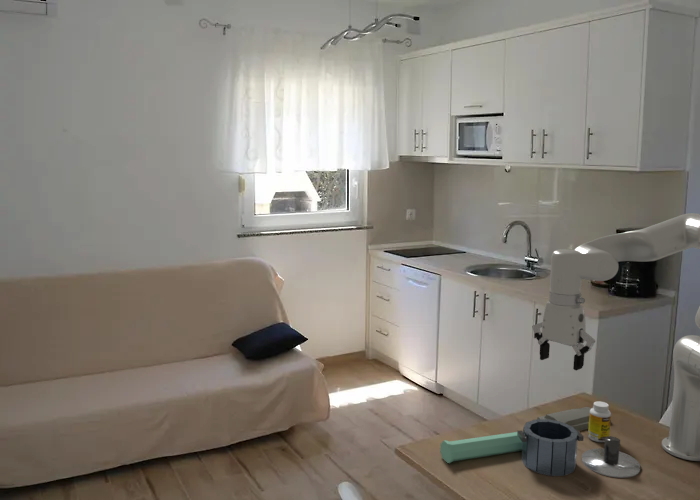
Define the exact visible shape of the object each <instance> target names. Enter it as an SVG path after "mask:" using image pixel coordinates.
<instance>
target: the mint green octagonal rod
mask: <svg viewBox="0 0 700 500" xmlns="http://www.w3.org/2000/svg"><path fill="white" fill-rule="evenodd" d="M522 444H523V442H522V441H521V440H520V438H519V437H518V435H517V431H515V432H507V433H500V434H499V433H498V434H492V435H485V436H479V437H471V438H465V439H459V440H458V439H456V440H451V441H450V440H449V441H448V440H447V439H444V440H443V441H442V442H440V448H439V449H440V455H441V458H443V459H444V460H445V461H446V462H447V463H449V464H451V463H452V462H459V461H464V460H470V459H477V458H483V457H490V456H497V455H501V454H502V455H503V454H509V453H514V452H515V453H516V452H522ZM443 459H442V460H443ZM444 460H443V461H444ZM445 461H444V462H445ZM446 462H445V463H446ZM447 463H446V464H447Z"/></svg>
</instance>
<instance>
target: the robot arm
mask: <svg viewBox="0 0 700 500" xmlns="http://www.w3.org/2000/svg"><path fill="white" fill-rule="evenodd" d="M693 248H694V249H696V250H700V213H696V212H695V213H694V212H691V213H683V214H681V215H678V216H675V217H672V218H669V219H667V220H664V221H661V222H659V223H656V224H652V225H650V226H647V227H644V228H641V229H636V230H635V229H634V230H630V231H625V232H621V233H614V234H610V235H605V236H601V237H598V238H595V239H593V240H590V241H587V242H584V243H582V244H580V245H579V246H577V247H575V248H574V249H568V248H564V249H563V248H562V249H556V250H553V252H552V254H551V257H550V274H549V275H550V276H549V293H548V294H549V295H548V301H547V302H546V303H545V306H544V307H545V308H544V311H543V316H542V322H539V323H535V324H532V330H533V333H534V337H535V338H536V340H537V343H538V344H537V345H539V360H540V361H544V360H547V359H549V358H550V347H551V346H550V343H549V341H550V342H554V343H557V344H562V345H565V346H568V347H572V349H573V351H575V353H576V354H574V355H573V369H572V370H574V371H579V370H580V369H582V368H583V367H584V364H585V354H587V353H588V352H589V351H591V350H592V348H593V346H594V345H595V343H596V339H594V338H593V337H592V336H591V335H590V334H589V333H587V332H586V329H587V328H586V313H585V309H584V305H583V304H585V302H586V299H585V298H584V297H583V296H582V284H583V283H582V282H583V280H588V281H596V282H604V281H608V280H611V279H613V278H614V277H616V275H617V274H618V271H619V265H620V264H619V262H655V261H658V260H662V259H664V258H667V257H669V256H672V255H674V254H678V253H680V252H683V251H686V250H688V249H693ZM581 304H582V305H581ZM694 320H695V321H694V323H695V325H696V327H697V328H698V329H699V330H700V305H699V307H698V309H697V311H696V314H695V317H694ZM584 343H585V344H584ZM672 358H673V359H672V361H673V362H672V363H673V374H674V379H673V380H674V381H673V389H672V390H673V392H672V393H673V394H672V399H671V400H672V401H671V411H670V412H671V413H670V420H669V421H670V422H669V431H668V432H669V433H668V436H667V437H664V438H663V439H662V440H661V448H662V449H663V450H664V451H665V452H667V453H668V454H670V455H672V456H673V457H677V458H680V459H682V460H686V461H692V462H693V461H694V462H700V335H695V334H689V335H685V336H682V337H681V338H679V339H678V340H677V341H676V343H675V345H674V346H673V352H672Z"/></svg>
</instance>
